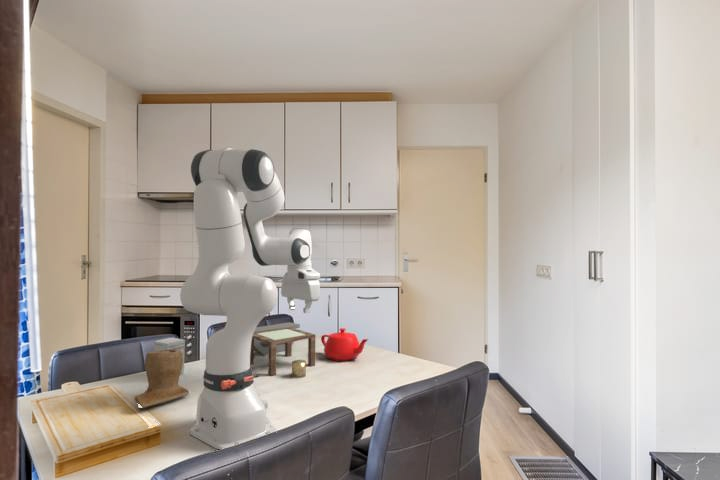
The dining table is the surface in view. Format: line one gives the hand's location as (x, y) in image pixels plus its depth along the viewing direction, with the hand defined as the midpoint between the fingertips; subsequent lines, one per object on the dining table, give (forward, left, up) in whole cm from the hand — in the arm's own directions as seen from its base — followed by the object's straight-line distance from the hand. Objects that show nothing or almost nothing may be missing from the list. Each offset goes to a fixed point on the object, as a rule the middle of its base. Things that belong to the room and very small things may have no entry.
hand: (299, 311), depth 139 cm
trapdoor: (+16, -2, -12) cm, 20 cm away
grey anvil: (+36, -9, -23) cm, 44 cm away
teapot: (+7, -27, -23) cm, 36 cm away
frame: (+16, -2, -23) cm, 28 cm away
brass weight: (0, 0, -23) cm, 23 cm away
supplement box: (+31, +35, -23) cm, 52 cm away
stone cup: (+8, +44, -23) cm, 50 cm away
